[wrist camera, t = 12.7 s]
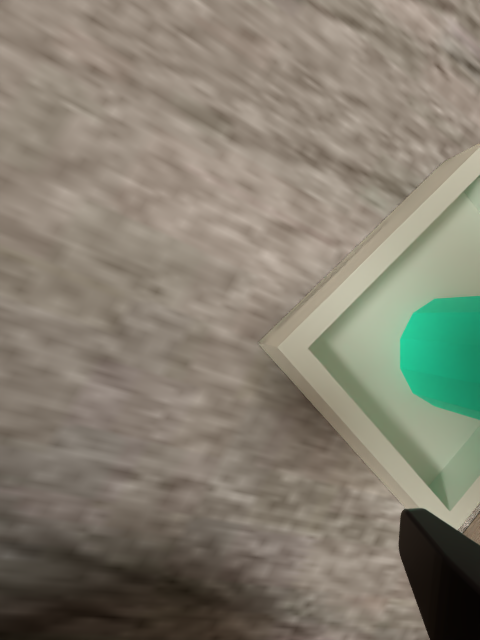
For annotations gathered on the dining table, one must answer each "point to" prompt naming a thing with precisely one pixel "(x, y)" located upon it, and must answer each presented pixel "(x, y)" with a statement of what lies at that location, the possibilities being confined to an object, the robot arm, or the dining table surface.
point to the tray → (394, 343)
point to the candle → (444, 354)
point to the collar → (474, 530)
